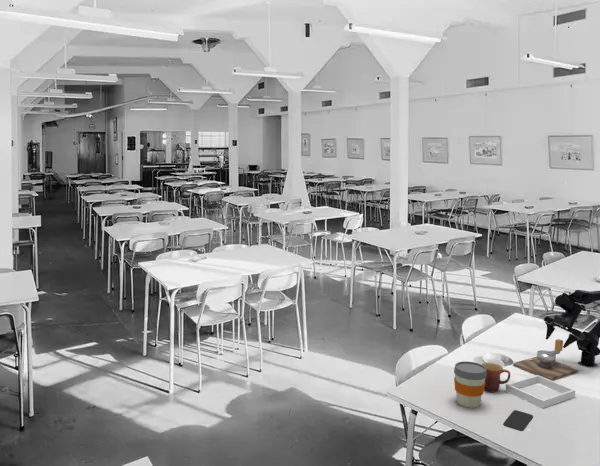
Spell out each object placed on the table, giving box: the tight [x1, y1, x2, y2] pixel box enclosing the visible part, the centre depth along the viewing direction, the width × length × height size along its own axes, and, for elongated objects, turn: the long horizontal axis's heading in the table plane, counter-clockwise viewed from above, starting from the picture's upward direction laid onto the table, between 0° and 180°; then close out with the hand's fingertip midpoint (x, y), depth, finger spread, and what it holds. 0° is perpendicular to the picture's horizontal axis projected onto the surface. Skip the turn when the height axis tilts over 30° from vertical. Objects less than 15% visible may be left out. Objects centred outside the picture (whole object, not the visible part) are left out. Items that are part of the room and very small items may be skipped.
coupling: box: [536, 338, 564, 363], centre depth 257 cm, size 14×8×8 cm, turn 121°
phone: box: [502, 409, 534, 432], centre depth 206 cm, size 7×1×15 cm
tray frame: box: [504, 375, 576, 409], centre depth 230 cm, size 21×18×3 cm
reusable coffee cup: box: [453, 360, 487, 409], centre depth 220 cm, size 13×13×15 cm
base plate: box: [512, 356, 579, 381], centre depth 256 cm, size 20×20×4 cm
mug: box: [480, 362, 511, 393], centre depth 232 cm, size 12×9×10 cm
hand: (554, 343), depth 256 cm, fingers open, 9 cm apart
